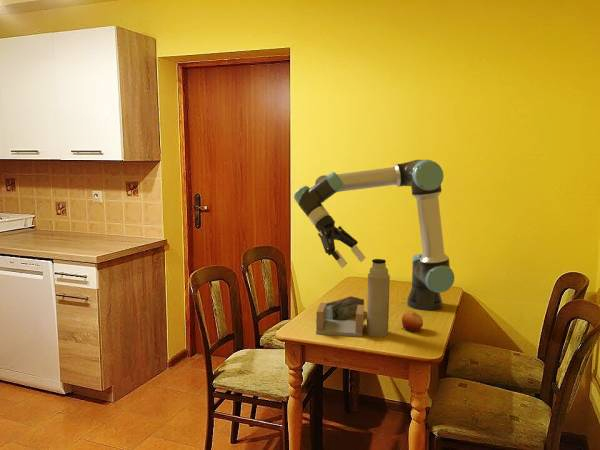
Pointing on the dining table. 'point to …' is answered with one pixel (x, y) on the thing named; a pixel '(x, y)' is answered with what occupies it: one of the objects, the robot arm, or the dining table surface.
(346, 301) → the beverage carton
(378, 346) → the dining table surface
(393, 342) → the dining table surface
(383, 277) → the thermos bottle
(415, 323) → the fruit
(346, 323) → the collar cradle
